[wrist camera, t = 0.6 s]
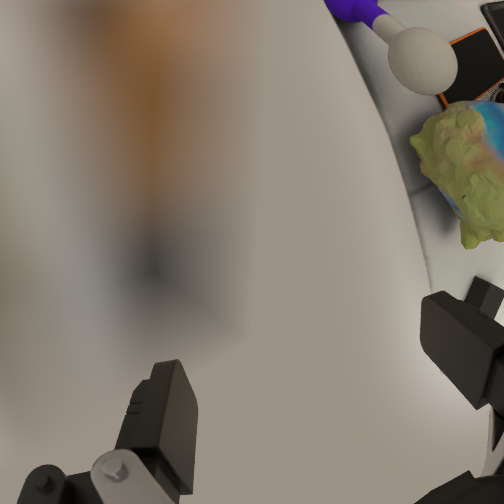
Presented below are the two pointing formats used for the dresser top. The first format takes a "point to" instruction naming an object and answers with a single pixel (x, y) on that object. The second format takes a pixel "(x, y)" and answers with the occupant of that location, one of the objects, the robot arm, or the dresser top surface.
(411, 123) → the dresser top surface
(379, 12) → the molecular model
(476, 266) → the dresser top surface
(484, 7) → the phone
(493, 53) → the smartphone
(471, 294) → the small pad
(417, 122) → the dresser top surface
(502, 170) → the decorative rock
